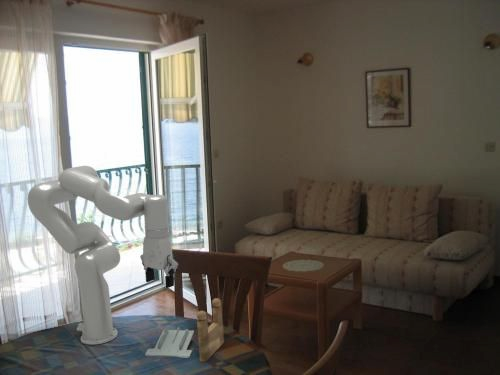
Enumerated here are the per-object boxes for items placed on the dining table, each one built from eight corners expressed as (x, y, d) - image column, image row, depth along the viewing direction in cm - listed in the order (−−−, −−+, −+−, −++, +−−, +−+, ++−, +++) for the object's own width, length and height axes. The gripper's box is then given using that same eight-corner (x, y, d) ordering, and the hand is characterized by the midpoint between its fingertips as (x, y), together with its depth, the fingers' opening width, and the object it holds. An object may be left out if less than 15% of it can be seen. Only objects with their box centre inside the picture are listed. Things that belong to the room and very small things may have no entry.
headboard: (198, 360, 157) (195, 312, 155) (217, 341, 170) (214, 296, 168) (207, 362, 156) (203, 313, 154) (225, 342, 169) (222, 297, 167)
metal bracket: (157, 323, 174) (199, 324, 171) (161, 337, 176) (202, 338, 173) (142, 353, 161) (187, 355, 158) (146, 367, 163) (190, 369, 160)
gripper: (130, 232, 166) (134, 282, 169) (166, 239, 155) (169, 292, 158) (148, 227, 172) (151, 276, 174) (184, 234, 161) (186, 285, 164)
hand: (159, 283), depth 166 cm, fingers open, 9 cm apart
